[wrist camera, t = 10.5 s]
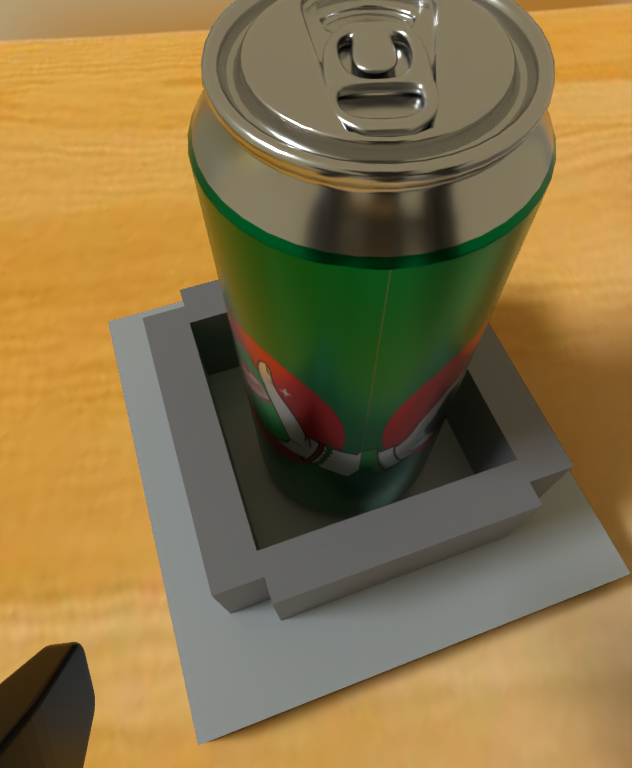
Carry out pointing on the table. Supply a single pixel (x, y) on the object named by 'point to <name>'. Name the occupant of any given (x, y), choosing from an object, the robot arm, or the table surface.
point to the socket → (338, 527)
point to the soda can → (366, 218)
